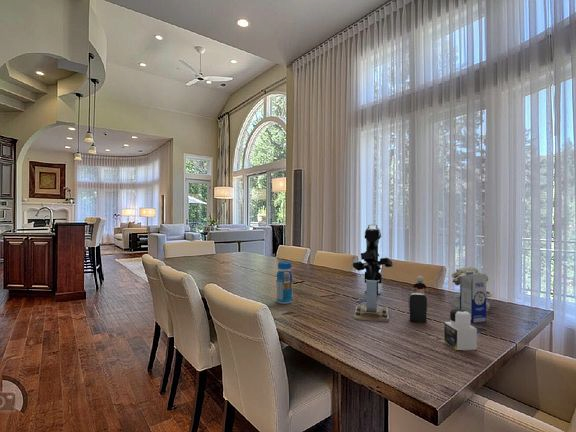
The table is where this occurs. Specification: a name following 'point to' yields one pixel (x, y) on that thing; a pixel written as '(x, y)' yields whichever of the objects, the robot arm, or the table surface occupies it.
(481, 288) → the milk carton
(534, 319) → the table surface
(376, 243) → the robot arm
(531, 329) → the table surface
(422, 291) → the grandmother figurine
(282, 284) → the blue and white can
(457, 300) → the cherub figurine
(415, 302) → the battery charger
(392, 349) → the table surface
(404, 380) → the table surface
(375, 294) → the tall pale blue pillar
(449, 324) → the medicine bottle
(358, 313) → the keyhole track
